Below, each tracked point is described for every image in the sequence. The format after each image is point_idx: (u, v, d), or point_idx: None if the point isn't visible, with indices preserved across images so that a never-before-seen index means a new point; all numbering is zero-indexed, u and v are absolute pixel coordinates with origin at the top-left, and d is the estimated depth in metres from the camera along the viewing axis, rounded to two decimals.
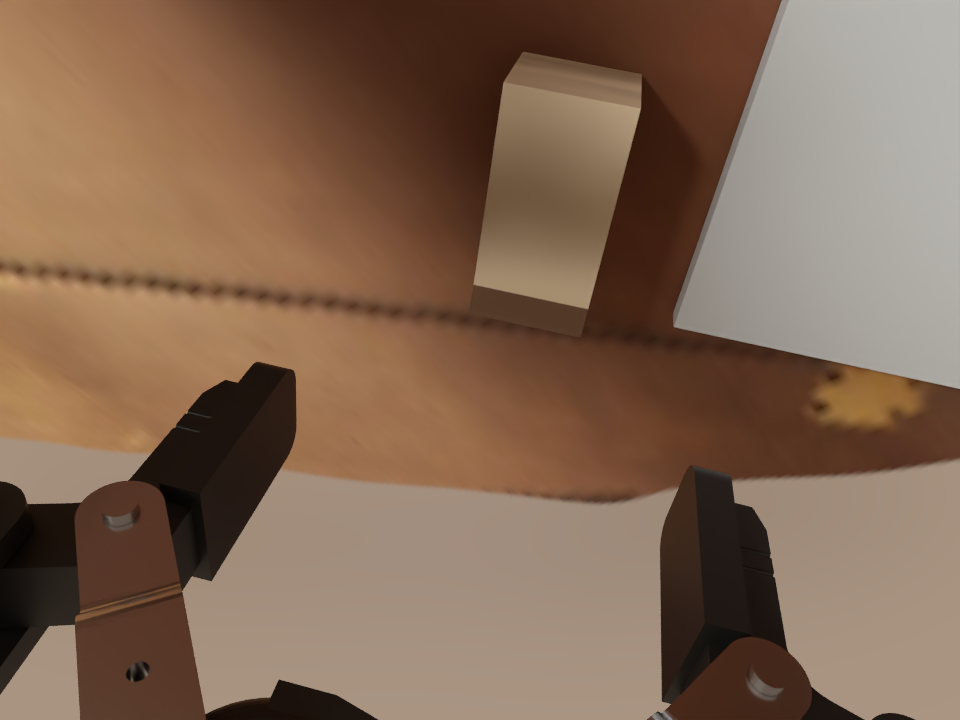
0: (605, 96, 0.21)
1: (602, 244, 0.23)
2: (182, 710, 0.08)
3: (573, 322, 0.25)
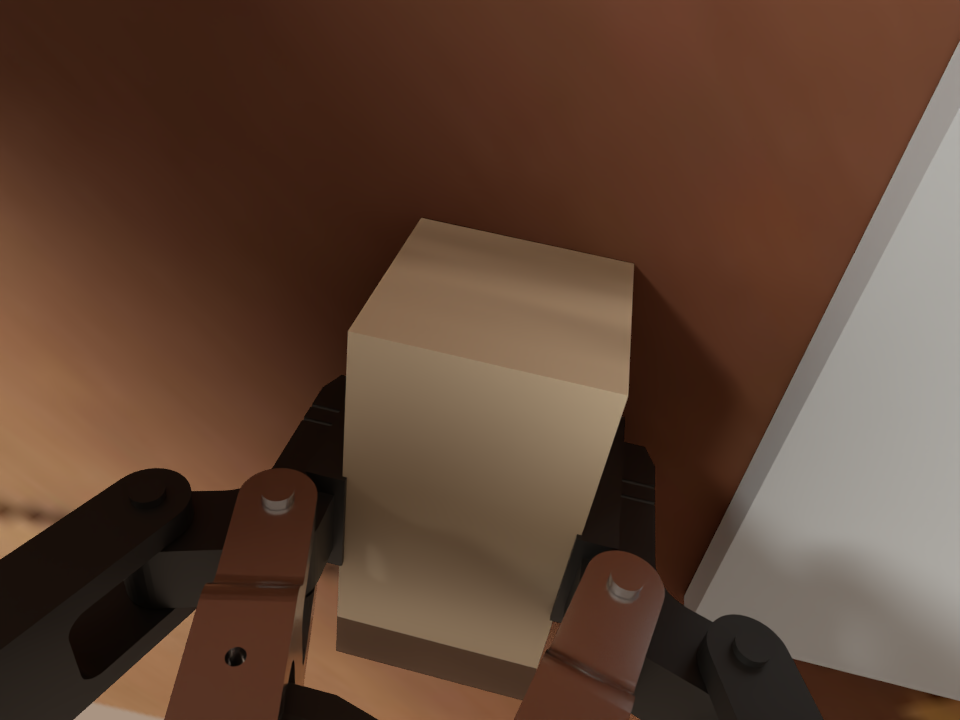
0: (556, 357, 0.10)
1: (558, 589, 0.12)
2: (259, 710, 0.08)
3: (511, 681, 0.14)
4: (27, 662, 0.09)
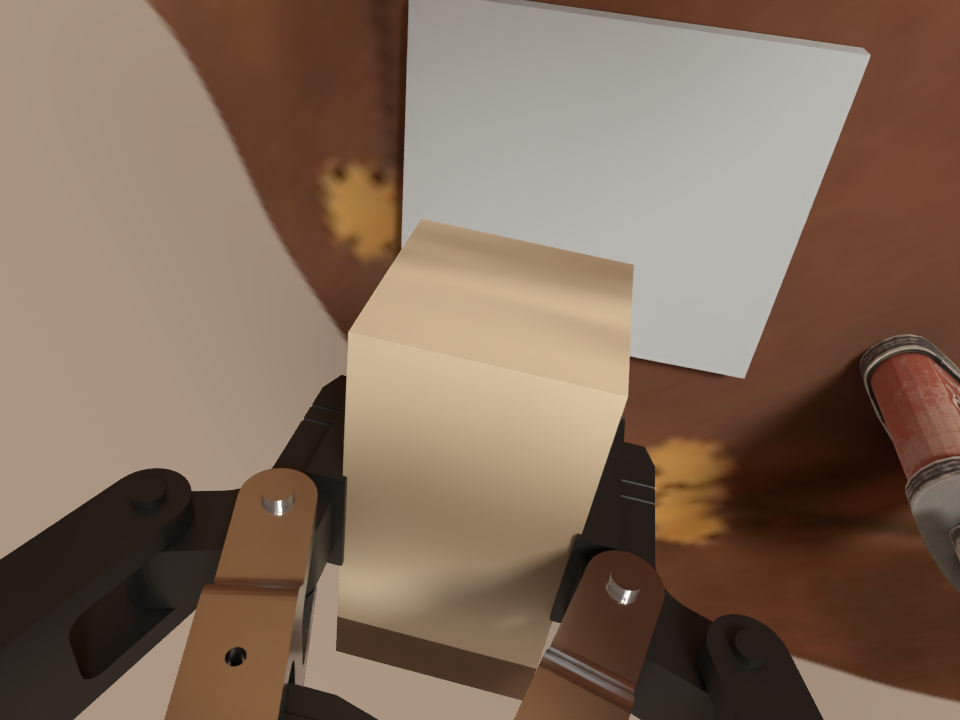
0: (556, 358, 0.10)
1: (557, 589, 0.12)
2: (259, 710, 0.08)
3: (511, 680, 0.14)
4: (27, 662, 0.09)
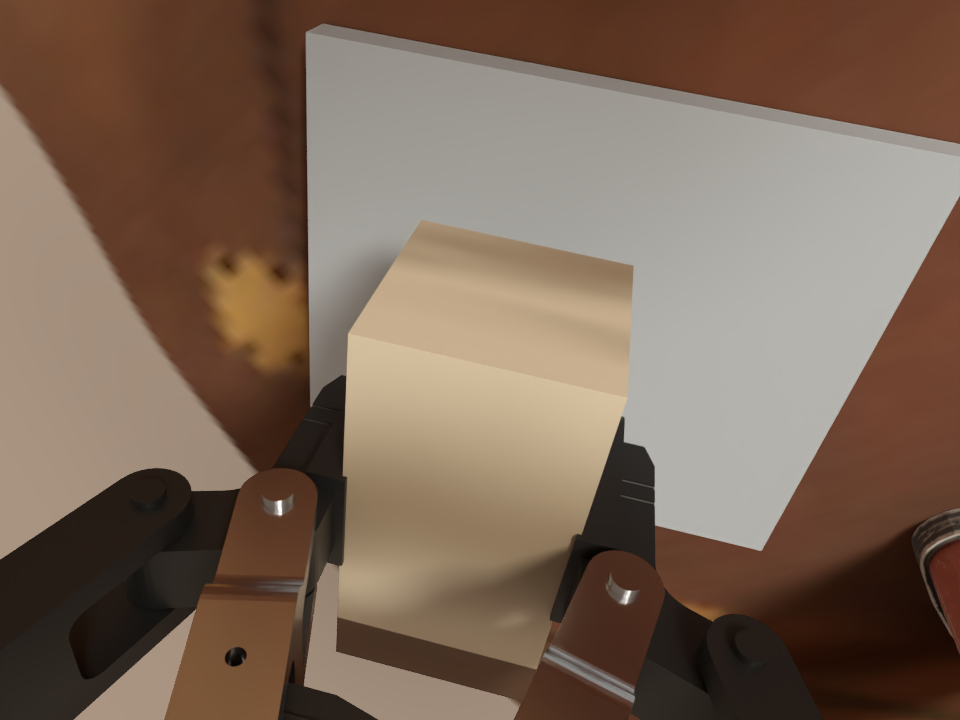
0: (556, 360, 0.10)
1: (557, 590, 0.12)
2: (259, 710, 0.08)
3: (511, 682, 0.14)
4: (27, 662, 0.09)
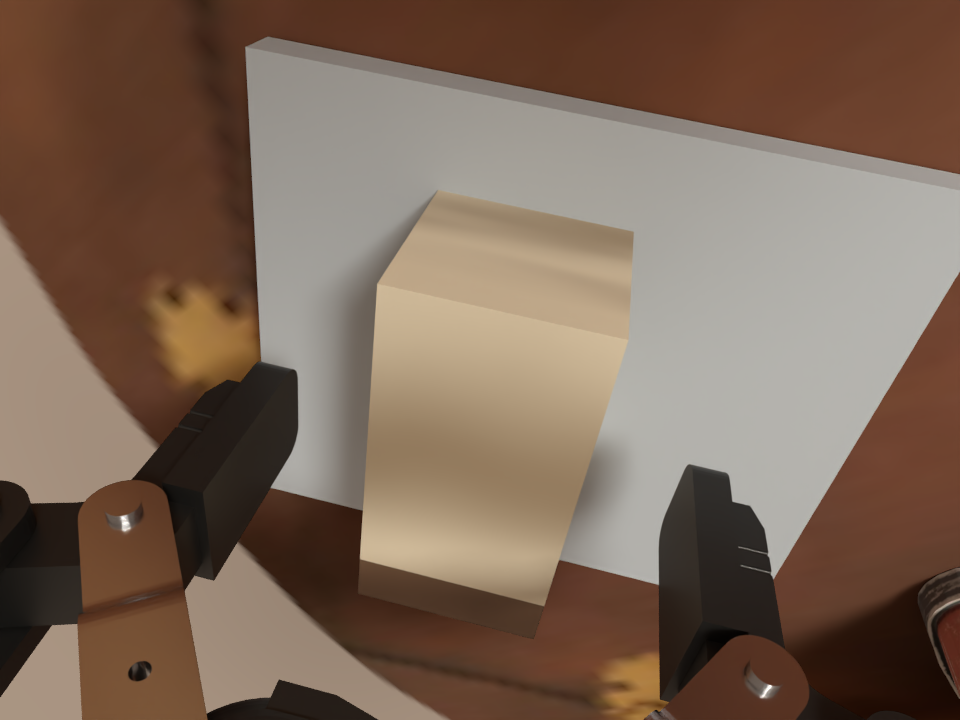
0: (564, 308, 0.12)
1: (564, 527, 0.14)
2: (184, 710, 0.08)
3: (521, 619, 0.15)
4: None
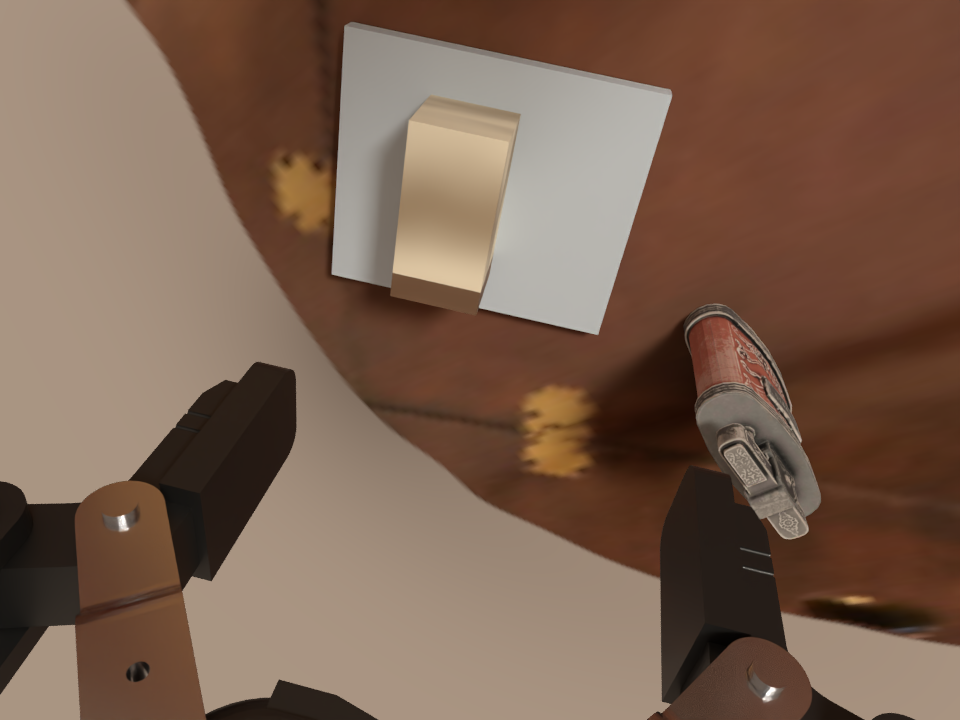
0: (484, 132, 0.28)
1: (488, 242, 0.30)
2: (182, 710, 0.08)
3: (469, 303, 0.32)
4: None
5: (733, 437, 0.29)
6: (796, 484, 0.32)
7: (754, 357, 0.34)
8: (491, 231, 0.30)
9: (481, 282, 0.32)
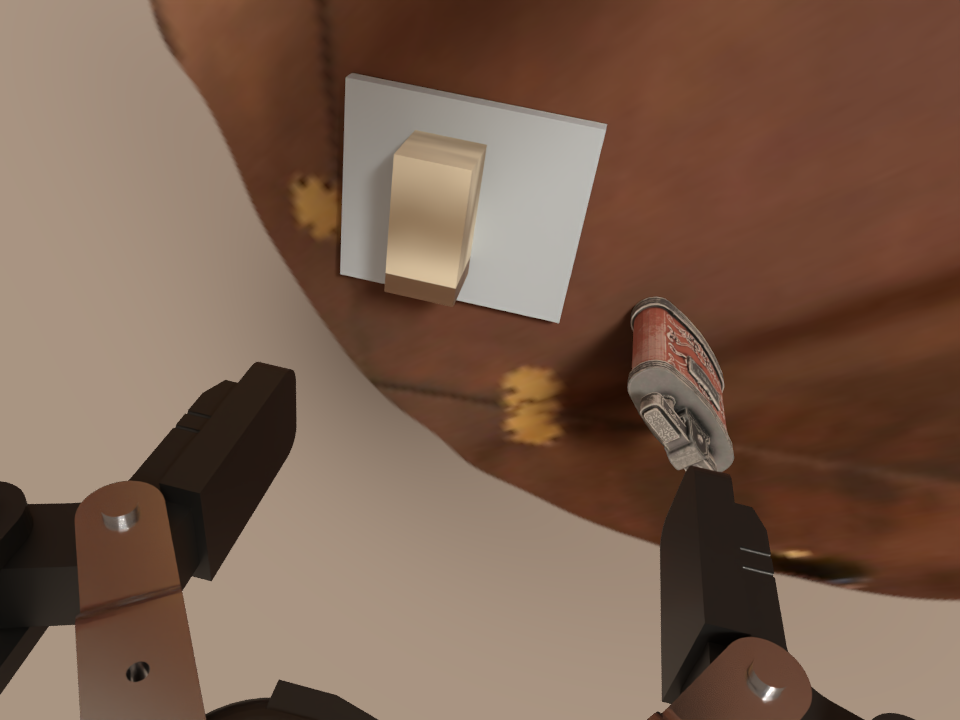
0: (453, 162, 0.36)
1: (459, 248, 0.38)
2: (182, 710, 0.08)
3: (447, 296, 0.40)
4: None
5: (651, 403, 0.36)
6: (712, 443, 0.39)
7: (684, 341, 0.41)
8: (461, 239, 0.38)
9: (456, 280, 0.39)
